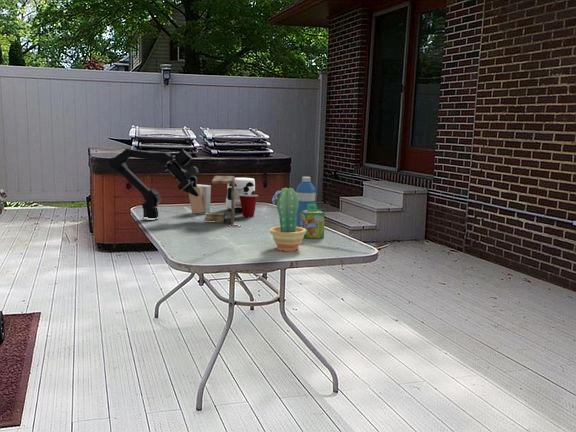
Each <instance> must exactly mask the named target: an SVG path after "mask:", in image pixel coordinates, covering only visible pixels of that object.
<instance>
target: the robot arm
mask: <svg viewBox="0 0 576 432" xmlns="http://www.w3.org/2000/svg"><path fill="white" fill-rule="evenodd" d="M130 158H136V159H142V160H149V161H153V162H156V163H158V164H160V165H161V164H162V165H164V166H163V173H164V172H167V171H168V172H169V173H170V174H171V175H172V176H173V179H174V180H177V182H178V183H179V184H177V189H178V190H179V192H181V191H182V192H186V193H188V194H189V193H190V194H192V195H194V196H198V193H197V192H196V190H195V189H194V188H193V187H197V182H198V177H197V176H196V175H197V174H199V173H200V171H199V168H198V167H197V166H195V165H193V166H192V167H190V169H189V170H186V169H183V167H185V166H186V165H188V163H189V162H190V161H191V160H192V159H193V157H192V155H191V154H190V153H189V152H188V151H186V150H185V149H184V148H181V149H180V150H179V152H178V153H177V154H176V155H175V154H174V155H173V154H171V153H170V152H169V151H158V152H154V151H153V152H152V151H147V150H140V149H132V148H126V149H124V150H123V151H122V152H121V153H119V154H117V155H116V156H114V157H111V158H109V160H108V166H109V168H110V169H112V170H113V171H114V172H117V173H118V174H120V175H122V176H123V177H124V178H125V179H126V180H127V181H128V182H129V183H130V184H131V185H132V186H133V187H134V188H135V189H136V190H137V191H138V192H139V193H140V194H141V195H142V197H143V199H144V202H143V204H142V205H141V206H142V211H143V213H142V214H143V217H142V218H144V217H148V218H157V217H158V218H159V210H158V205H159V204H161V201H162V195H160V193H161V192H158V191H157V189H156V188H154V187H153V188H150V187H148V186H147V185H146V184H145V183H144V181H142V180H141V179H140V178H139V177H138V176H137V175H136V174H134V172H132V170H130V168H129V167H128V165H127V163H126V161H128V160H129V159H130ZM172 161H173V162H172ZM166 164H167V165H166ZM182 166H183V167H182Z"/></svg>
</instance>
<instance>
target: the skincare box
mask: <svg viewBox="0 0 576 432" xmlns="http://www.w3.org/2000/svg"><path fill="white" fill-rule="evenodd" d="M196 185H197V187H200V186H202V190H203V195H204V201H205V207H206V211H204V212H201V213H208V212H210V213H211V193H212V191H211V190H212V185H210V184H209V185H208V184H201V183H199V184H198V183H196ZM208 214H209V213H208Z"/></svg>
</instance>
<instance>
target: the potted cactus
mask: <svg viewBox="0 0 576 432" xmlns="http://www.w3.org/2000/svg"><path fill="white" fill-rule="evenodd" d="M271 202H272V205H273V206H276V209H277V214H278V218H279V226H273V227H270V228H269V233H270V235H272V238H273V242H274V243H275V245H276V250H279V251H282V250H284V251H283V252H293V251H292V250H294V251H297V250H296V249H298V250H299V246H300V244H301V243H302V241H303V239H304V235H305V234H306V231H307V230H306V229H305V228H301V227H296V213H297V210H298V205H299V197H298V195H297V194H296V191H295V189H294V188H292V187H289V188H288V187H282V188H281V190H277V191H276V192H274V195H273V196H272V198H271ZM275 204H276V205H275Z"/></svg>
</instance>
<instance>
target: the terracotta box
mask: <svg viewBox="0 0 576 432" xmlns="http://www.w3.org/2000/svg"><path fill="white" fill-rule="evenodd" d="M193 188H194V189H195V190H196V192H197V193H198V196H194V195H192V194H190V193H188V199H189V203H190V208H191V209H190V210H191V214H195V213H201V212H204V211H206V207H205V201H204V195H203V190H202V186H200V187H193Z"/></svg>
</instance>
